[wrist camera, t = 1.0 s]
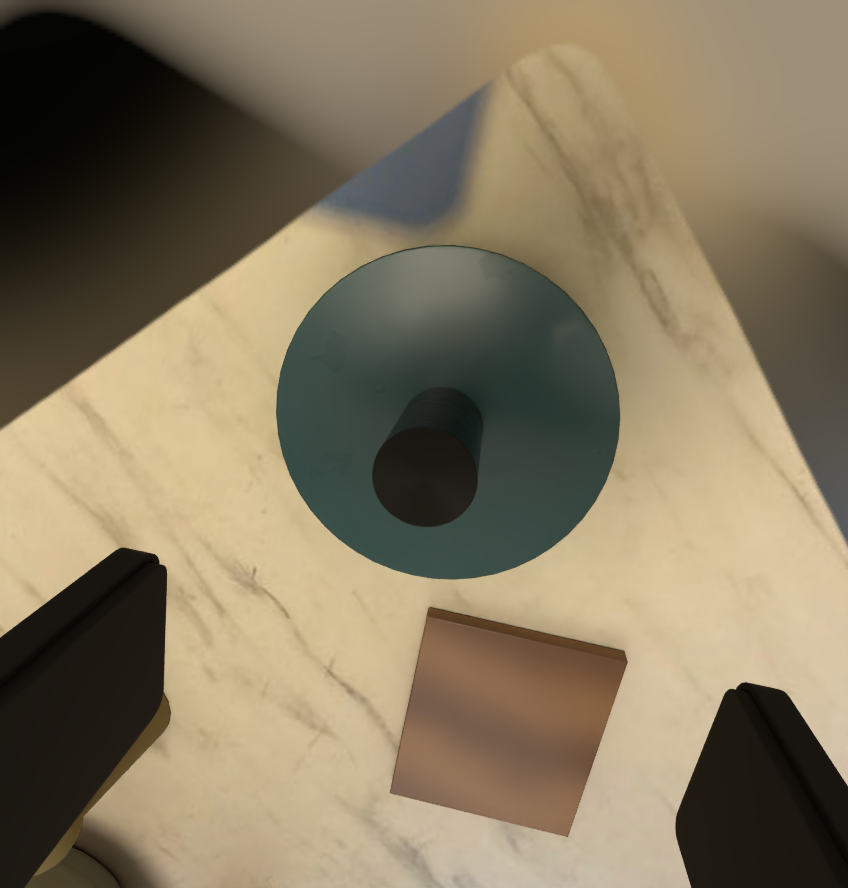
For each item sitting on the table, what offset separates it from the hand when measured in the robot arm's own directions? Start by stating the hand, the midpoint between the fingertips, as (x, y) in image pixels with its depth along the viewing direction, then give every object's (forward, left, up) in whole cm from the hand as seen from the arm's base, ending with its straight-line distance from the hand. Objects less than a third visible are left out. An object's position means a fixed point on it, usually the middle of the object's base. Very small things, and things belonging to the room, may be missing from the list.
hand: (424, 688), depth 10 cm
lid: (0, -1, -15) cm, 15 cm away
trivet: (+21, +6, -24) cm, 32 cm away
